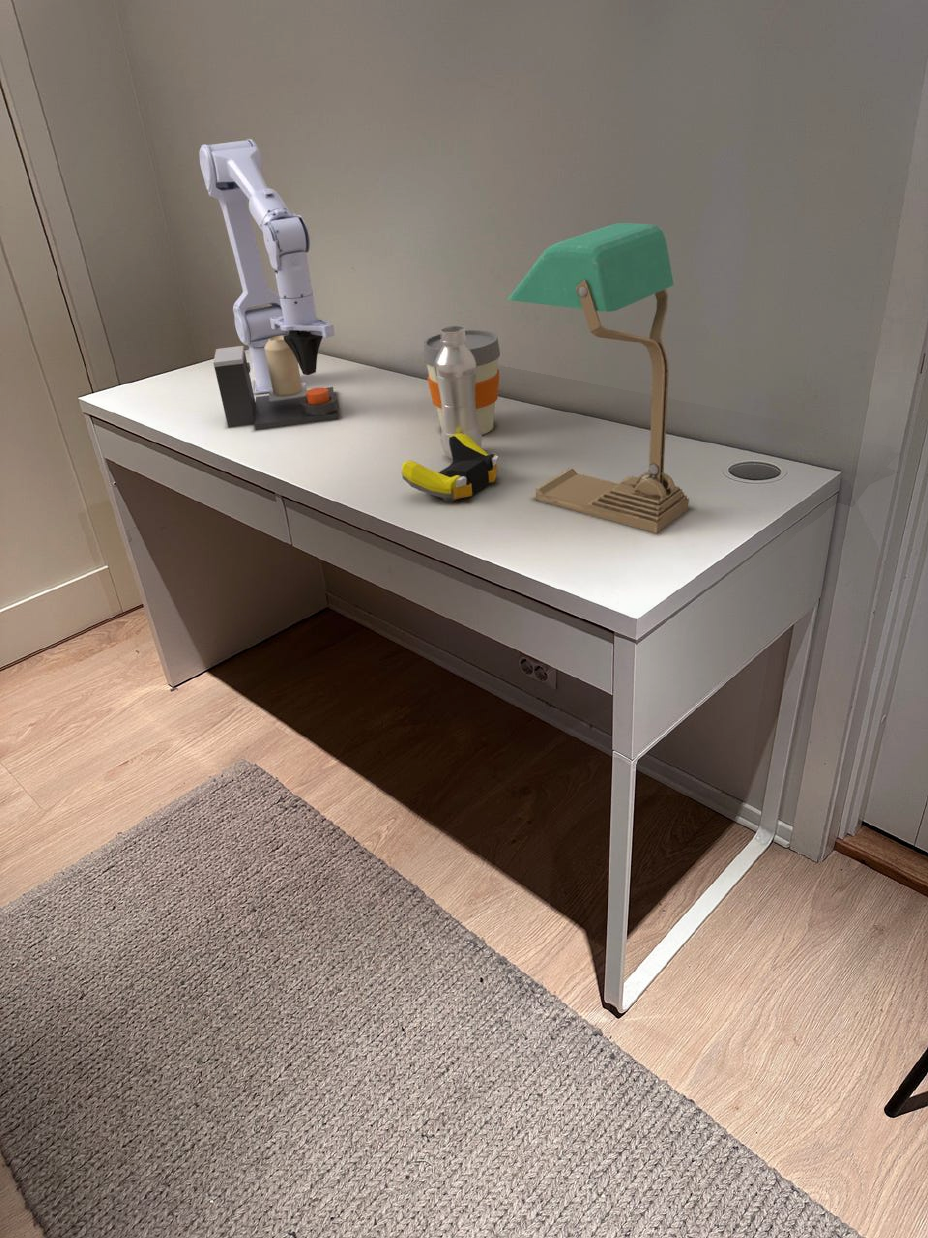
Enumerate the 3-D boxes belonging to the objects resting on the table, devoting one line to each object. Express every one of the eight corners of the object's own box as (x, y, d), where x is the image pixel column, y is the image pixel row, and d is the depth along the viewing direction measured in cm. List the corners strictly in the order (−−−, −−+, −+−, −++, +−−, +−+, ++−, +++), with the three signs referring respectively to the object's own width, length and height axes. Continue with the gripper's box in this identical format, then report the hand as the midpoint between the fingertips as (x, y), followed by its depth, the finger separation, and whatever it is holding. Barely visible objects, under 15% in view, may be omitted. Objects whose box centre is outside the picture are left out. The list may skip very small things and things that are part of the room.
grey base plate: (257, 402, 171) (253, 387, 169) (335, 392, 172) (333, 377, 171) (255, 430, 157) (252, 414, 156) (341, 419, 159) (338, 403, 157)
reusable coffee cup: (518, 428, 148) (514, 339, 140) (455, 447, 143) (447, 356, 135) (478, 409, 158) (472, 325, 149) (418, 427, 152) (408, 340, 144)
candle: (299, 394, 162) (290, 340, 157) (270, 396, 162) (259, 342, 157) (304, 385, 167) (295, 332, 161) (276, 387, 167) (266, 334, 162)
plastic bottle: (491, 453, 140) (484, 326, 129) (463, 467, 136) (452, 337, 125) (462, 445, 144) (452, 320, 133) (433, 458, 140) (421, 331, 129)
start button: (307, 399, 162) (305, 388, 160) (329, 396, 162) (327, 386, 161) (308, 406, 158) (306, 395, 157) (330, 403, 159) (328, 392, 158)
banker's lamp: (641, 544, 111) (652, 251, 92) (512, 507, 123) (498, 240, 104) (701, 498, 121) (722, 224, 102) (575, 468, 133) (573, 217, 114)
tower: (230, 409, 168) (216, 346, 162) (308, 399, 170) (297, 336, 164) (228, 427, 160) (213, 362, 153) (310, 416, 161) (298, 351, 155)
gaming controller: (398, 498, 128) (452, 512, 123) (394, 463, 125) (449, 476, 120) (459, 461, 138) (511, 473, 133) (456, 428, 135) (509, 438, 130)
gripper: (251, 296, 151) (266, 373, 159) (306, 303, 143) (320, 385, 150) (282, 287, 156) (295, 363, 163) (338, 294, 147) (349, 373, 155)
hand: (309, 373), depth 157 cm, fingers closed
